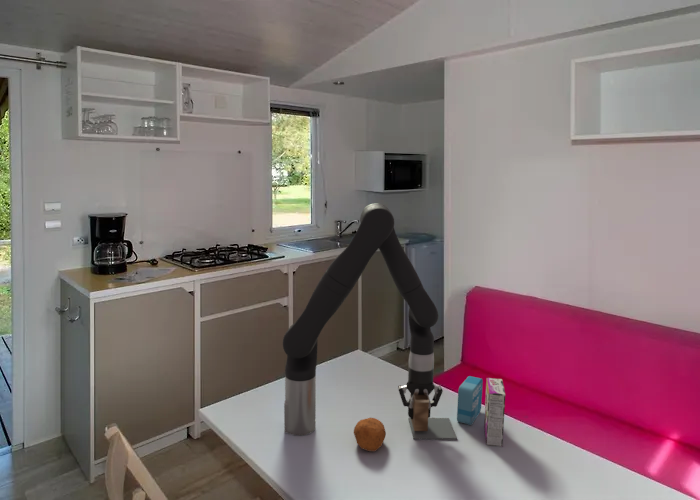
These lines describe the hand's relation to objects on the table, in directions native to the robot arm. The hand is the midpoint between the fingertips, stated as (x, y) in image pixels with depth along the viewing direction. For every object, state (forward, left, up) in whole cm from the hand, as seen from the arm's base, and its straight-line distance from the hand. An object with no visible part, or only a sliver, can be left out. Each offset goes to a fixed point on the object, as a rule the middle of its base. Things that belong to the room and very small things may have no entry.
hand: (419, 417), depth 156 cm
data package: (+18, +8, -4) cm, 19 cm away
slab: (0, 0, -2) cm, 2 cm away
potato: (-16, -9, -4) cm, 19 cm away
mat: (+4, 0, -3) cm, 5 cm away
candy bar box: (+22, -4, -4) cm, 22 cm away
